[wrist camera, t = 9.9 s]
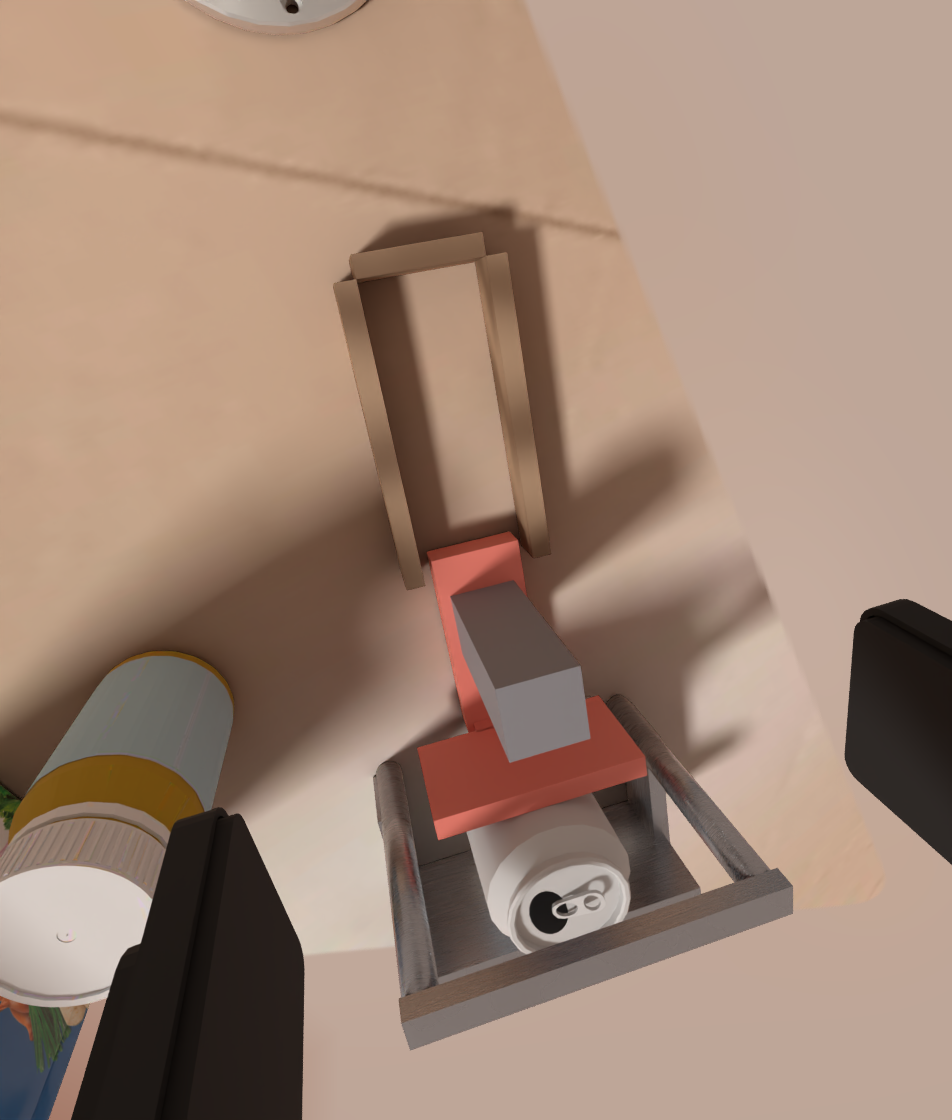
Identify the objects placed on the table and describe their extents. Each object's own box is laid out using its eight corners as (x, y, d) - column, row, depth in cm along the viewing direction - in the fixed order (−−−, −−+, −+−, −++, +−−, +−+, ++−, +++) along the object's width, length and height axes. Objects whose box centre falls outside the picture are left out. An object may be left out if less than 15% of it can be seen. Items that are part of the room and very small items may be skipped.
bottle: (187, 777, 37) (102, 1041, 23) (70, 717, 34) (-106, 974, 20) (262, 688, 36) (221, 906, 22) (148, 621, 33) (22, 819, 20)
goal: (370, 766, 39) (396, 1025, 24) (629, 691, 42) (797, 884, 27) (404, 885, 43) (446, 1174, 28) (642, 809, 45) (796, 1038, 30)
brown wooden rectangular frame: (327, 264, 30) (327, 258, 28) (491, 236, 31) (503, 228, 29) (402, 574, 36) (406, 590, 33) (537, 541, 37) (551, 554, 35)
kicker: (371, 565, 35) (391, 666, 24) (561, 518, 36) (661, 594, 25) (415, 739, 39) (450, 893, 28) (584, 691, 40) (678, 818, 30)
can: (431, 741, 40) (472, 897, 28) (541, 691, 40) (623, 825, 29) (473, 826, 42) (525, 998, 31) (575, 778, 43) (661, 931, 32)
